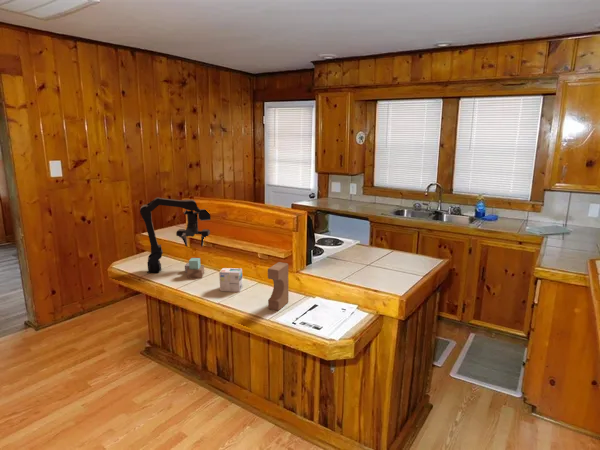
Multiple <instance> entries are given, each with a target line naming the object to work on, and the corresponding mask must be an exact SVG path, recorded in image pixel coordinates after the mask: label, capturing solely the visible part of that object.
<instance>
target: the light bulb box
mask: <svg viewBox="0 0 600 450" xmlns="http://www.w3.org/2000/svg"><path fill="white" fill-rule="evenodd" d="M218 274H219V291H220V292H235V293H236V292H237V293H240V292H241V290H242V289H243V287H244V285H243V282H244V281H243V268H237V267H236V268H234V267H233V268H232V267H228V268H227V267H223V268H221V270H220V271H219V273H218Z"/></svg>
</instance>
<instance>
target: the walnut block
mask: <svg viewBox="0 0 600 450" xmlns="http://www.w3.org/2000/svg"><path fill="white" fill-rule="evenodd" d="M204 274H205V265H204V264H203V265H202V264H201V267H200V268H199V269H189V268H188V270H187V273H186V275H187V279H203V277H204Z"/></svg>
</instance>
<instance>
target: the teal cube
mask: <svg viewBox="0 0 600 450" xmlns="http://www.w3.org/2000/svg"><path fill="white" fill-rule="evenodd" d="M188 263H189V269H199V268H200V267H201V265H202V264H201V257H191V258H190V259H189V260H188Z"/></svg>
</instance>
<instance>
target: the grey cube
mask: <svg viewBox="0 0 600 450" xmlns="http://www.w3.org/2000/svg"><path fill="white" fill-rule="evenodd" d="M188 268H189V262H188V263H187V262H186V264H185V265H184V273H185V274H187V270H188Z"/></svg>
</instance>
